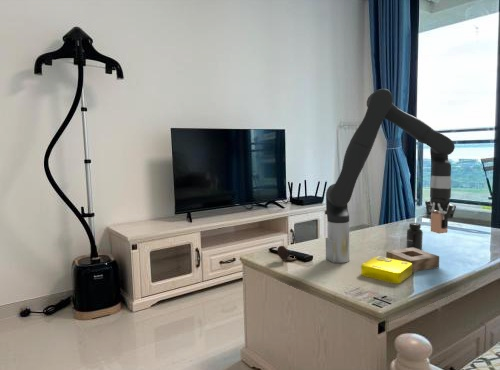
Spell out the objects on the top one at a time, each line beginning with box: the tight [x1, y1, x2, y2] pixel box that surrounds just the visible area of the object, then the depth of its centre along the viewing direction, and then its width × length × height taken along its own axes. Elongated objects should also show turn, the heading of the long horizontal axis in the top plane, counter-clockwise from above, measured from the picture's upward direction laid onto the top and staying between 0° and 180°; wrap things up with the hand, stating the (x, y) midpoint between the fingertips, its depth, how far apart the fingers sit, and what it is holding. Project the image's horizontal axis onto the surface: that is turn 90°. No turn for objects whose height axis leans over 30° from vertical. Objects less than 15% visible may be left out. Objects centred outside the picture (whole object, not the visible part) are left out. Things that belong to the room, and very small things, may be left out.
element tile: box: [360, 255, 413, 284], centre depth 136 cm, size 15×15×5 cm
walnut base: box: [385, 247, 440, 273], centre depth 146 cm, size 14×14×4 cm
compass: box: [276, 245, 297, 263], centre depth 157 cm, size 8×8×7 cm
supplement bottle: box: [405, 222, 424, 250], centre depth 167 cm, size 7×7×12 cm
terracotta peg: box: [430, 211, 449, 234], centre depth 149 cm, size 4×4×8 cm
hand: (439, 226), depth 149 cm, fingers closed on terracotta peg, 4 cm apart
